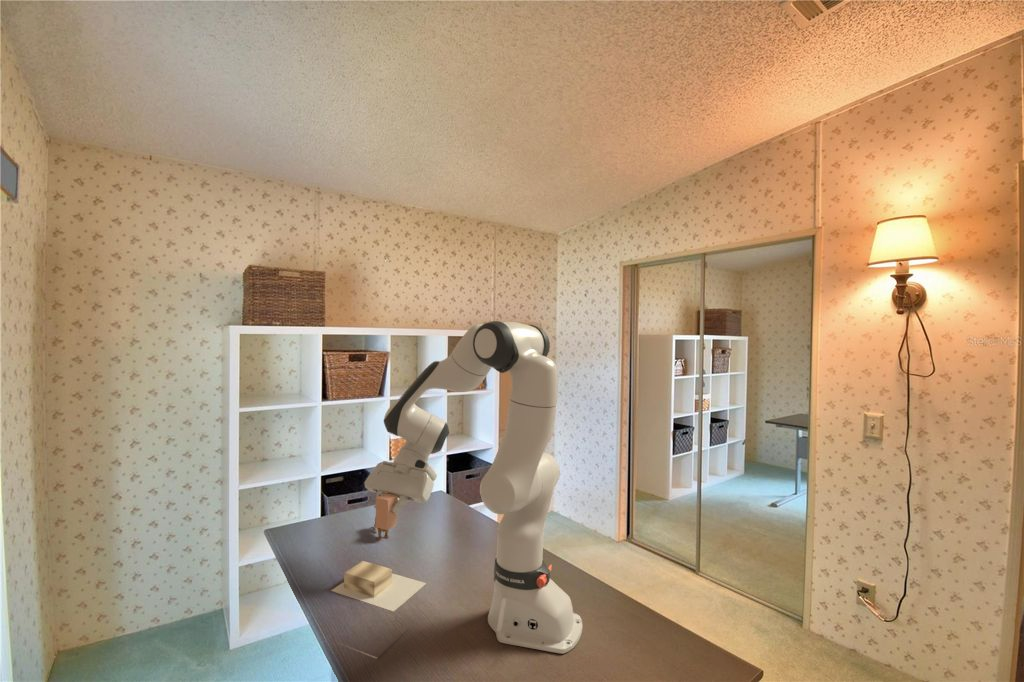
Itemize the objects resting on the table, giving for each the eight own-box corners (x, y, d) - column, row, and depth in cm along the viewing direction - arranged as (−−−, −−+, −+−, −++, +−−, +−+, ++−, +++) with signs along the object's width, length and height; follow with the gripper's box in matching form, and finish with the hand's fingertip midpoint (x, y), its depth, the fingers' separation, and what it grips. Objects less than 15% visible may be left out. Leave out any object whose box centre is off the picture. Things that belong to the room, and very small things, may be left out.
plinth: (391, 584, 123) (392, 569, 123) (374, 597, 116) (374, 581, 116) (362, 575, 127) (362, 560, 127) (343, 587, 120) (344, 572, 120)
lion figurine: (397, 541, 148) (398, 513, 148) (381, 545, 145) (382, 517, 145) (381, 525, 160) (382, 499, 160) (366, 528, 157) (366, 502, 157)
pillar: (396, 524, 125) (397, 495, 125) (387, 530, 121) (388, 500, 121) (385, 521, 127) (386, 493, 127) (375, 527, 123) (376, 497, 123)
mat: (426, 584, 124) (426, 583, 124) (393, 612, 111) (393, 611, 111) (367, 567, 132) (367, 566, 132) (330, 591, 119) (330, 590, 119)
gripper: (375, 454, 134) (349, 498, 126) (433, 465, 126) (410, 512, 117) (384, 465, 139) (360, 508, 130) (442, 477, 130) (420, 523, 121)
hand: (384, 510), depth 123 cm, fingers closed on pillar, 4 cm apart
